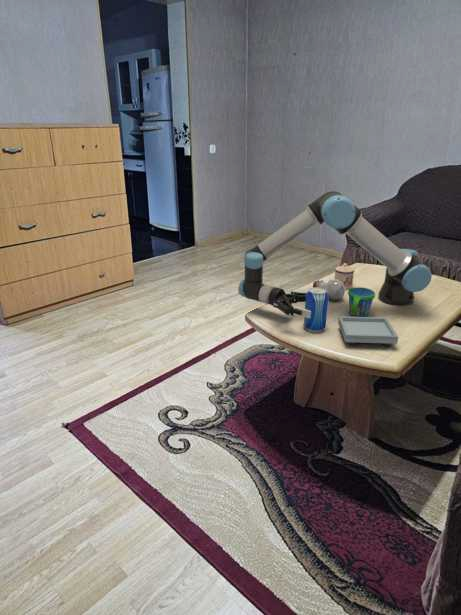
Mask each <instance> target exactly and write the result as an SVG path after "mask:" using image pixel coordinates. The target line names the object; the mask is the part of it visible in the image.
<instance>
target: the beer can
mask: <svg viewBox="0 0 461 615" xmlns="http://www.w3.org/2000/svg"><path fill="white" fill-rule="evenodd" d="M306 293H307V294H306V299H305V302H304V309H306V310H309V311H311V318H306V317H303V327H304V329H305V330H306V331H307V332H310V333H314V334H317V333H321V332H323V331H324V330H325V329H326V327H327V325H326V324H327V318H328V317H327V316H328V307H329V301H328V300H329V298H328V294H327V291H326V289H324V288H320V287H313V286H312V287H311V288H309V289H308V291H307V292H306Z"/></svg>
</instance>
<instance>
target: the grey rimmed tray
mask: <svg viewBox="0 0 461 615" xmlns="http://www.w3.org/2000/svg"><path fill="white" fill-rule="evenodd" d="M337 324H338V326H339V330H340V331H341V334H342V337H343V340H344V343H347V345H348V346H349V347H353V346H354V345H355V343H362V344H363V343H365V344H366V343H367V344H383V345H384V346H385V348H390V347H391V346H392V345H393V344H396V345H397V344H398V340H399V335H398V333H397V332H396V331H395V328H394V327H393V326H392V325H391V323H390V321H389V319H388V318H387V317H375V316H374V317H373V316H372V317H371V316H366V317H355V316H345V315H344V316H341V315H340V316H339V315H338V319H337Z"/></svg>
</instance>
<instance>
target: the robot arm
mask: <svg viewBox="0 0 461 615" xmlns="http://www.w3.org/2000/svg"><path fill="white" fill-rule="evenodd" d="M351 200H352V199H350V198H348V197H346V196H344V195H343V194H342V193H340V192H338V191H335V190H333V191H327V192H324V193H323V194H322V195H320V196H319V197H317V198H316V199H315V200H313V201H312V202H311V203H310V204H308V205H307V206H306V209H305V210H304V211H303V212H301V213H299V214H298V215H297V216H296V217H294V218H293V219H291V220H290V221H289V222H287V223H286V224H284V225H283V226H282V227H280V228H279V229H278V230H276V231H275V232H273V233H272V234H271V235H270V236H268V237H267V238H265V239H264V240H262V241H261V242H260V243H258V244H257V245H256V246H254V247H249V248H248V249H246V251H245V252H244V254H243V255H244V256H243V260H244V261H243V263H244V279H242V280H241V281H240V282H239V284H238V285H239V286H238V289H237V291H238V294H239V295H240V296H241V297H243V298H246V299H248V300H253V301H257V302H259V303H262V304H265V305H270V306H273V307H274V308H276V309H278V310H279V311H281V312H282V313H283V314H285V315H287V316H291V317H293V316H294V315H297V316H300V317H303V318H304V317H306V318H311V311H309V310H306V309H305V308H301V307H298V306H295V307H294V306H293V304H298V303H305V299H306V294H307V292H299V291H298V292H297V291H290V293H286V292H285V290H284V289H283V288H281V287H280V288H279V287H276V286H273V285H269V284H265V283H263V279H264V278H263V277H264V276H263V275H264V263H265V261H267V260H268V259H269V258H271V257H272V256H274V255H275V254H277V253H278V252H280V251H281V250H283V249H284V248H285V247H287V246H288V245H289V244H291V243H293V242H294V241H295V240H297V239H298V238H300V237H301V236H302V235H304V234H305V233H306V232H308V231H310V230H311V229H312V228H314V227H315V226H321V225H322V224H324V223H325V224H326V225H328V227H330V228H332V229H333V230H335V231H336V232H337V233H338V234H339V235H347V236H348V237H350V238H351V239H352V240H353V241H355V243H357V244H358V245H359V246H360V247H362V248H363V249H364V250H365V251H367V252H368V253H369V254H370V255H371V256H372V257H374V258H375V259H376V260H377V261H379V263H381V264H382V265H384V267H386V268H385V275H384V276H385V277H384V281H383V283H382V286H381V287H380V289H379V291H378V296H377V298H378V300H379V301H380V302H383V303H385V304H388V305H393V306H410V305H412V304H413V303H414V300H415V294H414V293H419V292H422V291H424V289H426V288H427V287H428V286H429V285H430V284H431V282H432V270H431V269H430V267H429V266H427V265H426V264H424V263H423V262H422V261H421V260H419V259H418V256H419V255H418V251H417V250H414V249H409V248H399V247H398V246H397V245H395V244H394V243H393V242H392V241H391V240H389V239H388V238H387V237H386V236H385V235H384V234H383V233H381V232H380V231H379V230H378V229H377V228H376V227H374V226H373V224H371V223H370V222H369V221H368V220H366V218H364V217H363V212H362V210H361V209H360V208H359V207H357V205H355V204H354V203H353V201H351ZM329 301H330V299H328V302H329Z"/></svg>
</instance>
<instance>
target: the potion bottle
mask: <svg viewBox="0 0 461 615" xmlns="http://www.w3.org/2000/svg"><path fill="white" fill-rule="evenodd" d="M313 287H320V288H324V289H326V291H327V294H328V300H330V301H339V300H341V298H343V297H344V296H345V293H346V290H347V289H346V288H345V286H344V284H343V282H341V281H339V280H337V279H329V280H328V281H327V282H324V279H321V280H315V281H313V284H312V288H313ZM345 289H346V290H345Z"/></svg>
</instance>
